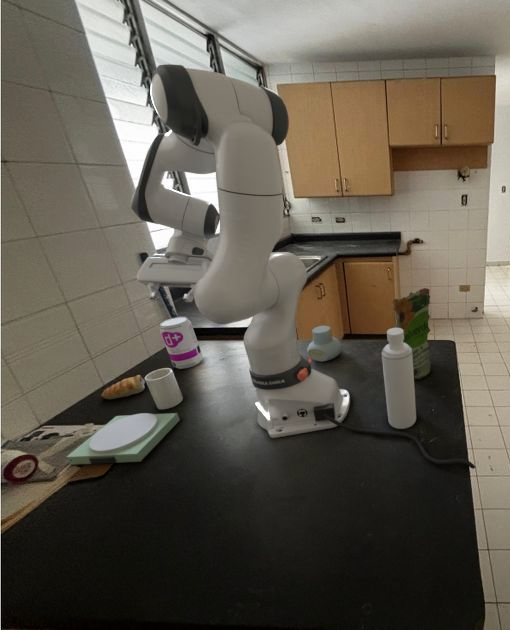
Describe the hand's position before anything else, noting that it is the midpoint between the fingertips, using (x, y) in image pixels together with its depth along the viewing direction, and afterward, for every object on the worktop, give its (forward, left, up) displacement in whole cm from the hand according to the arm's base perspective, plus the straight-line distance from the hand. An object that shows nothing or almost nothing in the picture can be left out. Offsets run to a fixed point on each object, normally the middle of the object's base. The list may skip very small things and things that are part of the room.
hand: (170, 300), depth 89 cm
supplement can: (+10, -11, -26) cm, 30 cm away
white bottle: (-61, +21, -26) cm, 70 cm away
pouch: (-64, 0, -26) cm, 69 cm away
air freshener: (-35, -11, -26) cm, 45 cm away
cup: (+2, +10, -25) cm, 27 cm away
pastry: (+18, +4, -26) cm, 31 cm away
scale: (+2, +24, -25) cm, 35 cm away
